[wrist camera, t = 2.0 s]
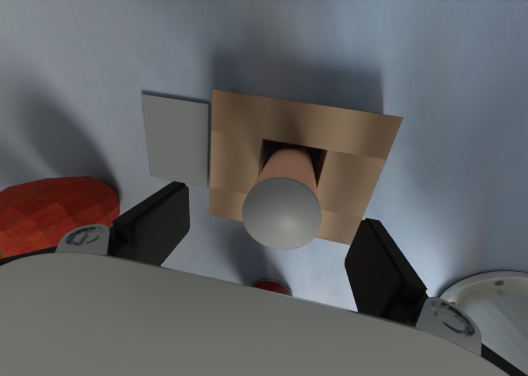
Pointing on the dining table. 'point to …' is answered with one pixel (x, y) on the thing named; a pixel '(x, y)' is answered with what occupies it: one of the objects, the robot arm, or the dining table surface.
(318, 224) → the peach capped cylinder
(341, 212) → the housing
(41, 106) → the dining table surface
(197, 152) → the mat
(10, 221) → the apple
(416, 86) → the dining table surface
